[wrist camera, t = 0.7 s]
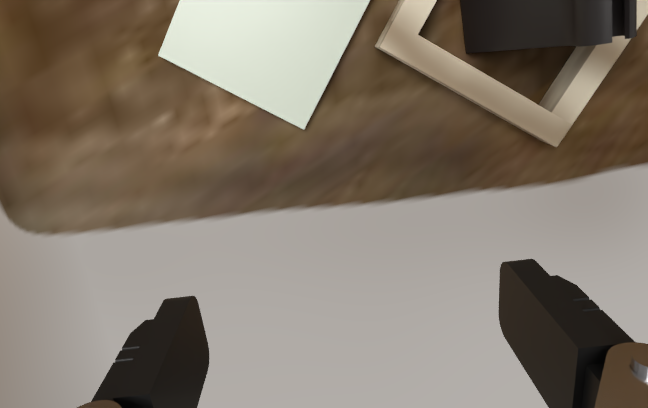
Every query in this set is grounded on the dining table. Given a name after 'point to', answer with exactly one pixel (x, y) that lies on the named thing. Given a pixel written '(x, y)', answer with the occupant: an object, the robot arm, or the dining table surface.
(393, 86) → the dining table surface
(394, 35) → the pocket holder
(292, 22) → the sage mat
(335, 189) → the dining table surface
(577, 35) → the phone stand
